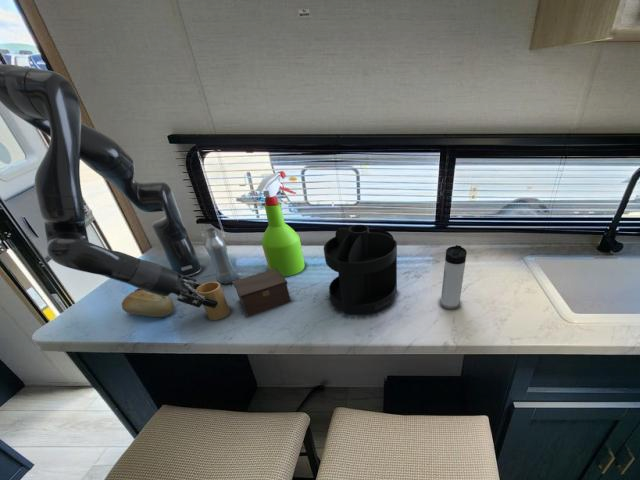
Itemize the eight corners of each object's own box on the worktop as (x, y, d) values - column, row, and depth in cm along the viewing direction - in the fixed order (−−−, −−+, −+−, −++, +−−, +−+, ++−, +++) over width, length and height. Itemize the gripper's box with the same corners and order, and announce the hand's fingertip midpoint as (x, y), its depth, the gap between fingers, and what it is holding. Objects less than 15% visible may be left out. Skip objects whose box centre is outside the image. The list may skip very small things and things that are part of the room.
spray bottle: (319, 260, 130) (305, 171, 109) (287, 280, 117) (264, 183, 96) (294, 252, 135) (276, 166, 115) (261, 271, 122) (234, 177, 102)
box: (239, 301, 105) (231, 281, 101) (281, 287, 112) (276, 268, 108) (247, 317, 99) (240, 296, 94) (292, 301, 106) (287, 281, 101)
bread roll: (141, 302, 105) (130, 281, 100) (184, 304, 104) (174, 284, 99) (118, 320, 97) (104, 299, 92) (164, 323, 96) (153, 301, 91)
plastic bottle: (231, 286, 113) (212, 234, 101) (214, 284, 114) (194, 232, 102) (242, 277, 118) (225, 227, 106) (226, 275, 119) (208, 225, 107)
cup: (206, 312, 101) (194, 285, 95) (227, 305, 104) (217, 279, 98) (210, 322, 96) (198, 295, 91) (232, 314, 100) (222, 288, 94)
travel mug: (460, 299, 107) (468, 246, 96) (457, 310, 102) (465, 256, 91) (442, 296, 109) (448, 243, 97) (438, 306, 104) (444, 252, 92)
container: (317, 309, 102) (304, 238, 88) (350, 275, 120) (343, 211, 105) (379, 324, 96) (376, 251, 82) (404, 286, 114) (405, 220, 99)
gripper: (162, 277, 80) (225, 299, 92) (157, 256, 89) (215, 278, 101) (147, 301, 80) (211, 319, 92) (144, 277, 89) (203, 297, 102)
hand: (213, 298), depth 97 cm, fingers open, 8 cm apart
